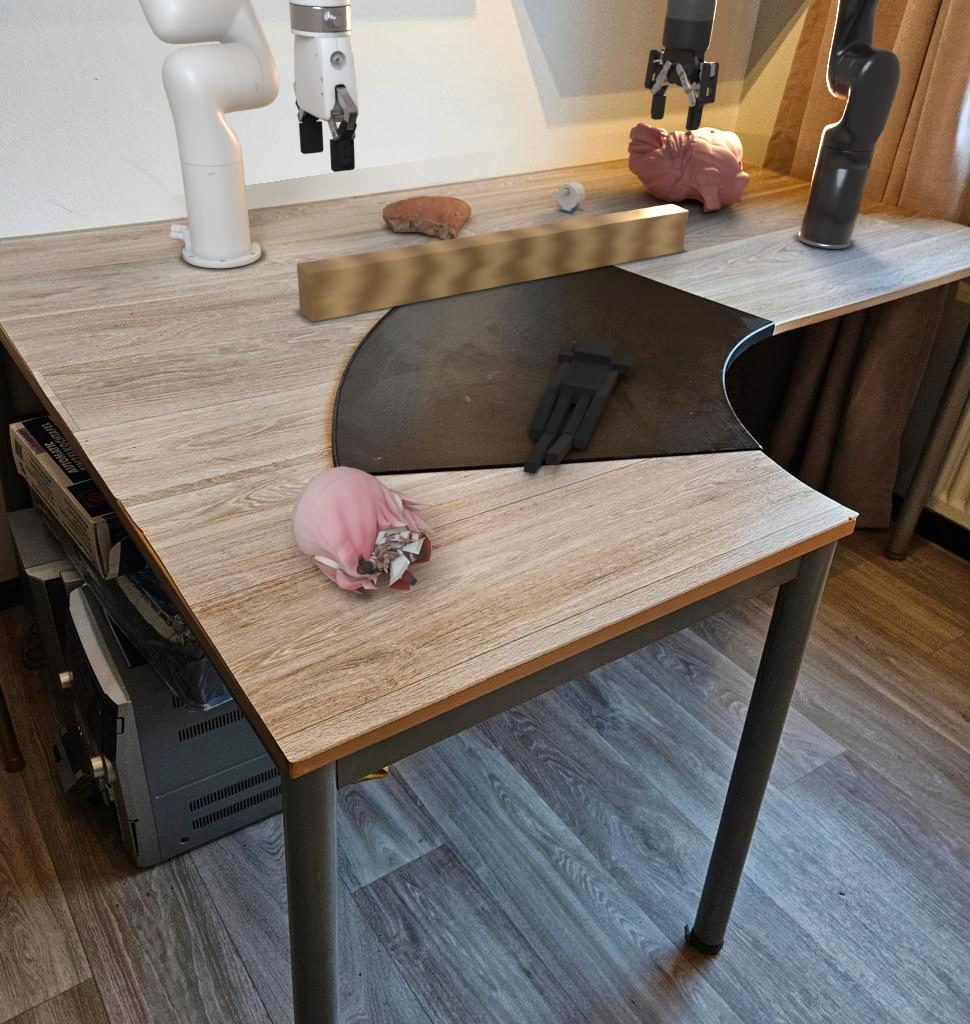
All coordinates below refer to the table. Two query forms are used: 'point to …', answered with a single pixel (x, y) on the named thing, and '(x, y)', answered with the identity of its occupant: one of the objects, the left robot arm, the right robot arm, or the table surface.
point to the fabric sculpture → (688, 165)
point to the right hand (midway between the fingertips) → (673, 124)
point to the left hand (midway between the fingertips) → (327, 161)
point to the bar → (485, 261)
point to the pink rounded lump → (359, 529)
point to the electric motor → (570, 196)
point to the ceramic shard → (428, 215)
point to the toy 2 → (575, 398)
